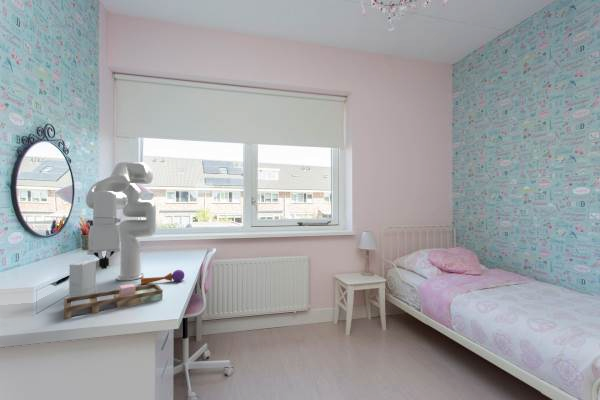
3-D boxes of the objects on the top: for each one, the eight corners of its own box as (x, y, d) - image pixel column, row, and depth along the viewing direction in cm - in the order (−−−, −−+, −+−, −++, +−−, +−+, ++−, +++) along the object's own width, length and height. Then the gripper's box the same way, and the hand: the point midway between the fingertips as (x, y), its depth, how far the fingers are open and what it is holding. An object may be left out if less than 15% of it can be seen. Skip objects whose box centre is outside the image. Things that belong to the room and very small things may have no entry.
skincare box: (83, 292, 126) (84, 259, 126) (96, 292, 125) (97, 259, 126) (67, 298, 117) (68, 263, 117) (81, 298, 117) (82, 264, 117)
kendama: (142, 275, 141) (184, 268, 149) (142, 287, 141) (184, 280, 148) (140, 275, 136) (183, 269, 144) (140, 288, 135) (184, 280, 143)
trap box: (63, 319, 97) (63, 307, 97) (64, 309, 106) (64, 298, 106) (162, 299, 117) (162, 289, 117) (155, 292, 126) (155, 283, 126)
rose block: (119, 295, 114) (119, 285, 115) (133, 292, 118) (133, 283, 118) (121, 298, 111) (121, 288, 111) (135, 295, 114) (135, 286, 114)
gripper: (125, 221, 117) (124, 264, 116) (80, 222, 107) (79, 269, 107) (128, 221, 111) (127, 267, 111) (81, 223, 102) (79, 272, 101)
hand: (103, 268), depth 109 cm, fingers closed
